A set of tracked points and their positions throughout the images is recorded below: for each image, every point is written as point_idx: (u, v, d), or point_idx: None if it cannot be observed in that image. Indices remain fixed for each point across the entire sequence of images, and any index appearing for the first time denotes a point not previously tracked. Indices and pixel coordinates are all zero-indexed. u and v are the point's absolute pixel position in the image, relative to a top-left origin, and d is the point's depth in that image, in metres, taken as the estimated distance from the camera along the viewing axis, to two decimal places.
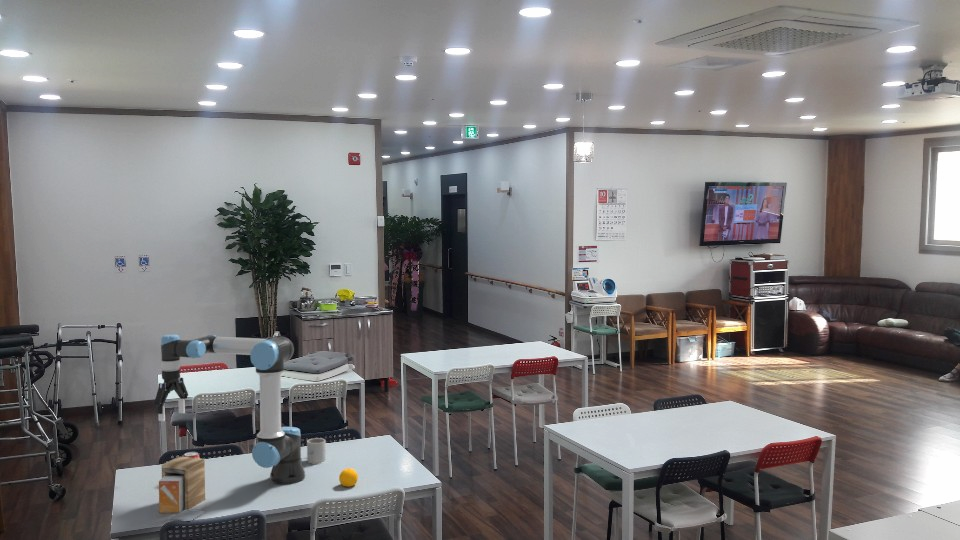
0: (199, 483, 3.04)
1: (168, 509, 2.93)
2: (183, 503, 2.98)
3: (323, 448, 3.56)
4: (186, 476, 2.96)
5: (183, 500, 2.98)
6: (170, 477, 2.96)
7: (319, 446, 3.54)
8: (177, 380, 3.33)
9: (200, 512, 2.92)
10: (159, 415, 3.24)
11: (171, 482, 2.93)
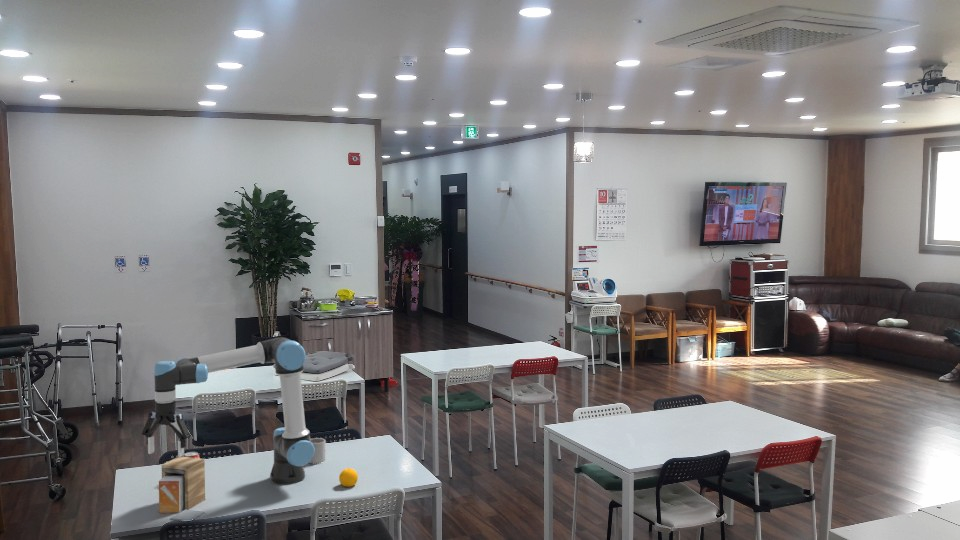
0: (199, 483, 3.04)
1: (168, 509, 2.93)
2: (183, 503, 2.98)
3: (323, 448, 3.56)
4: (186, 476, 2.96)
5: (183, 500, 2.98)
6: (170, 477, 2.96)
7: (319, 446, 3.54)
8: (170, 415, 2.90)
9: (200, 512, 2.92)
10: None
11: (171, 482, 2.93)
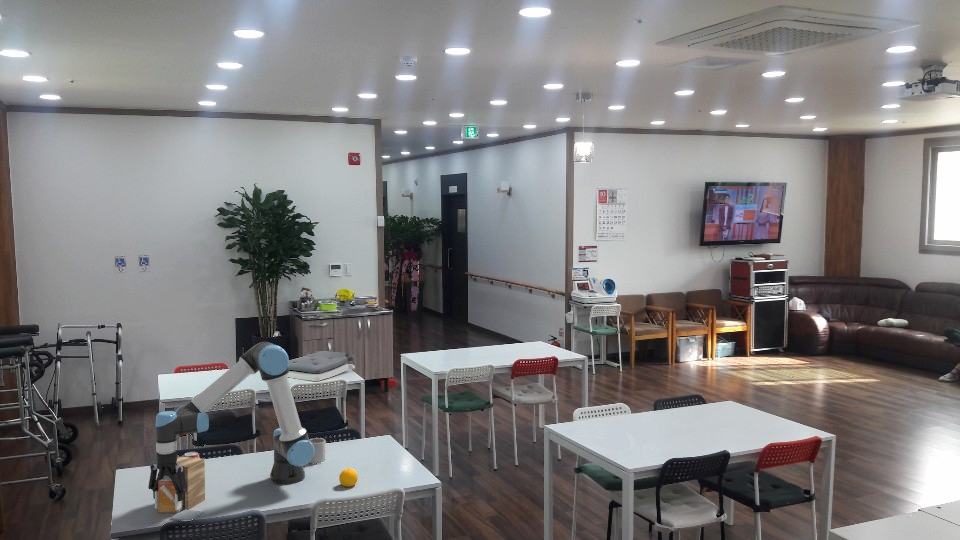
0: (199, 483, 3.04)
1: (167, 509, 2.93)
2: (182, 503, 2.98)
3: (323, 448, 3.56)
4: (186, 476, 2.96)
5: (183, 500, 2.98)
6: None
7: (319, 446, 3.54)
8: (171, 466, 2.91)
9: (200, 512, 2.92)
10: None
11: (171, 482, 2.93)
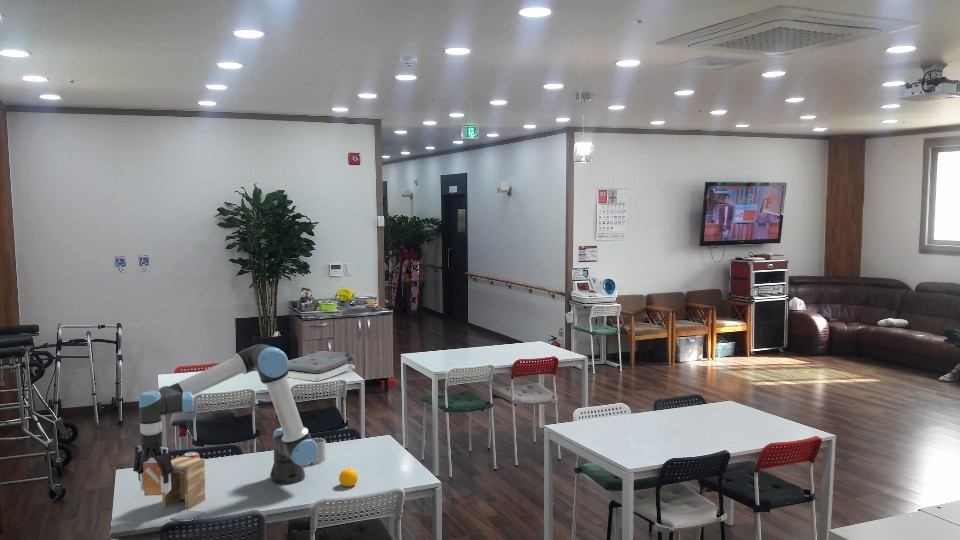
0: (199, 483, 3.04)
1: (153, 492, 2.85)
2: (169, 486, 2.90)
3: (323, 448, 3.56)
4: (186, 476, 2.96)
5: (169, 482, 2.89)
6: None
7: (319, 446, 3.54)
8: (156, 447, 2.82)
9: (200, 512, 2.92)
10: None
11: (156, 464, 2.84)
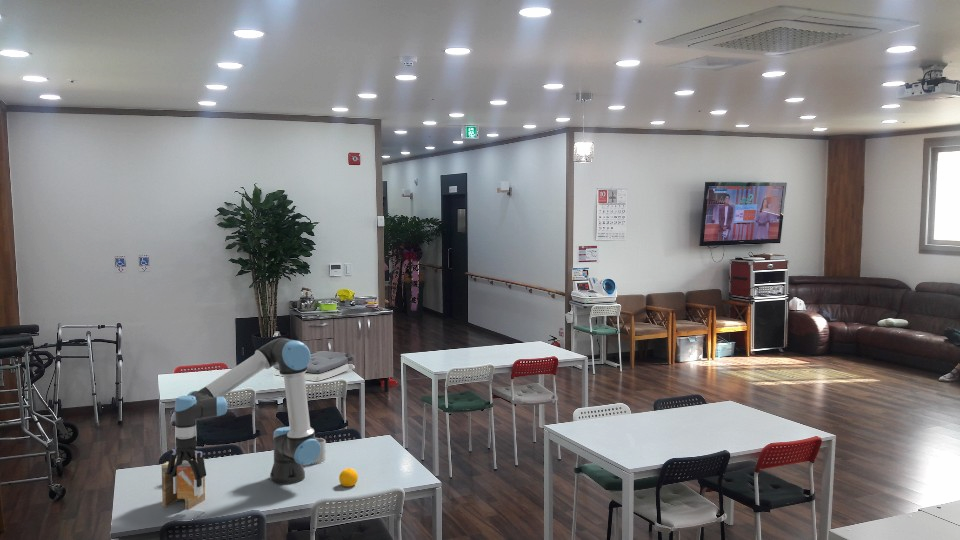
0: None
1: (186, 495, 2.89)
2: (201, 489, 2.94)
3: (323, 448, 3.56)
4: None
5: (201, 486, 2.94)
6: None
7: None
8: (191, 451, 2.87)
9: (200, 512, 2.92)
10: None
11: (189, 467, 2.88)
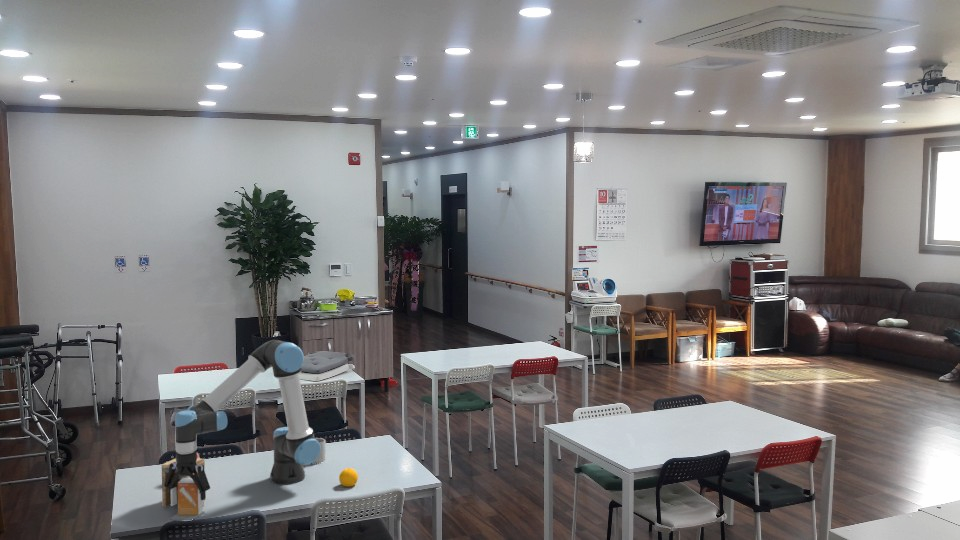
0: None
1: (186, 511, 2.89)
2: None
3: (323, 448, 3.56)
4: (186, 476, 2.96)
5: None
6: (189, 479, 2.92)
7: None
8: (191, 466, 2.87)
9: None
10: None
11: (190, 484, 2.89)
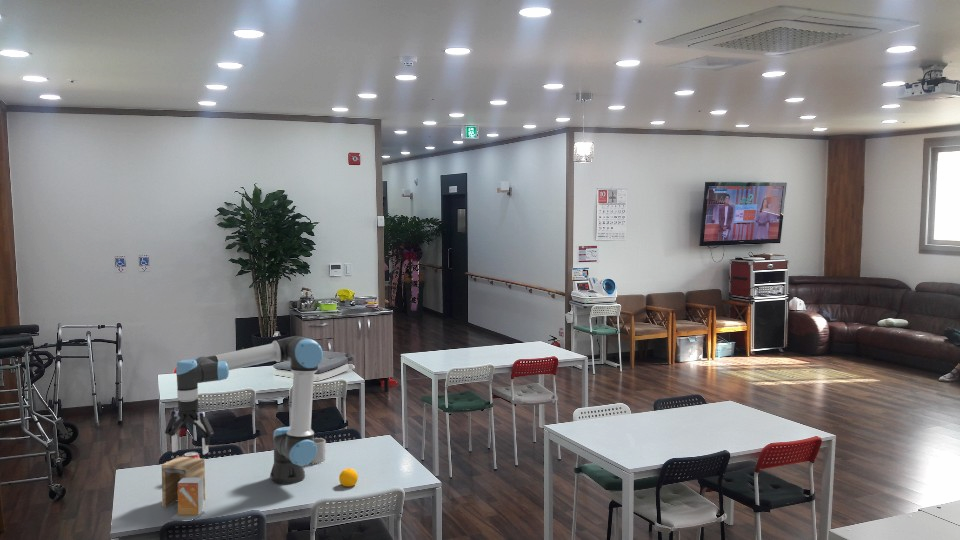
0: None
1: (186, 511, 2.89)
2: (202, 505, 2.94)
3: (323, 448, 3.56)
4: (186, 476, 2.96)
5: (202, 502, 2.94)
6: (189, 479, 2.92)
7: (319, 446, 3.54)
8: (193, 413, 2.92)
9: None
10: None
11: (190, 484, 2.89)
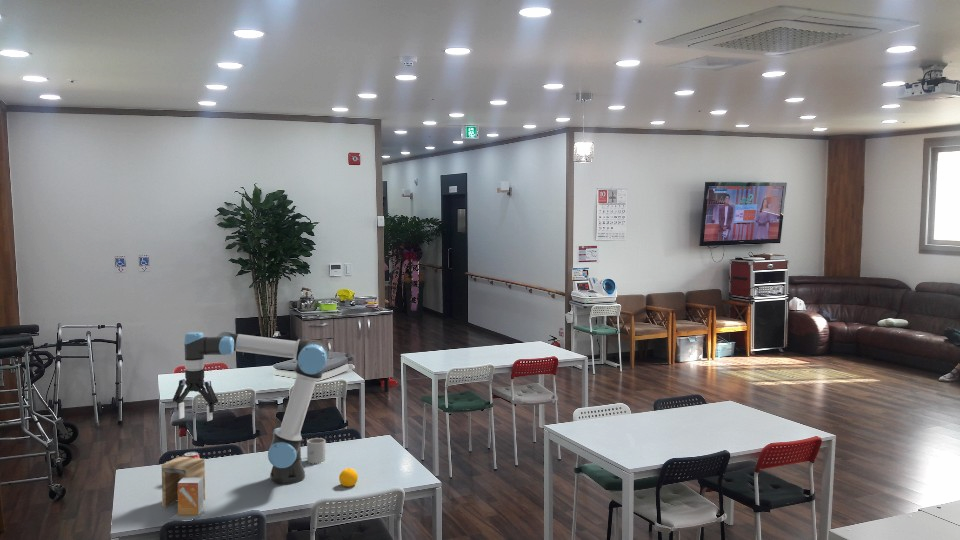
0: None
1: (186, 511, 2.89)
2: (202, 505, 2.94)
3: (323, 448, 3.56)
4: (186, 476, 2.96)
5: (202, 502, 2.94)
6: (189, 479, 2.92)
7: (319, 446, 3.54)
8: (199, 382, 3.11)
9: None
10: None
11: (190, 484, 2.89)
